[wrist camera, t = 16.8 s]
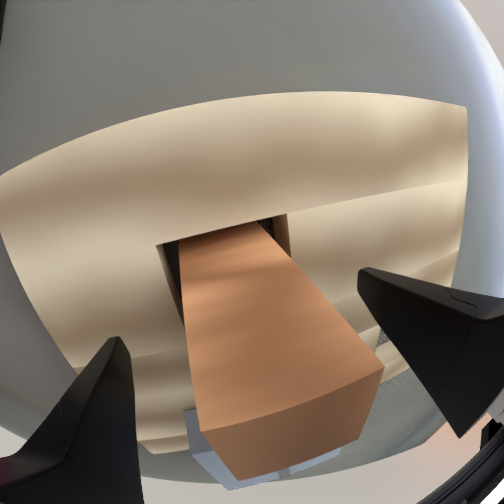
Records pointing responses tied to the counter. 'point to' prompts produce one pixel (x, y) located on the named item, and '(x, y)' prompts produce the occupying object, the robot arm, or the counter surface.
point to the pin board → (231, 219)
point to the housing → (218, 469)
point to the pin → (269, 354)
